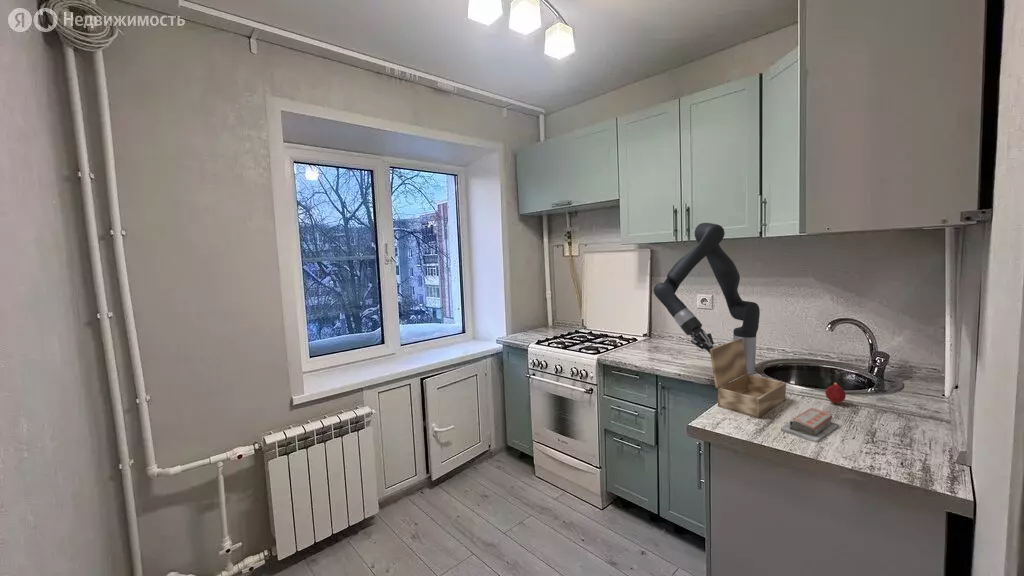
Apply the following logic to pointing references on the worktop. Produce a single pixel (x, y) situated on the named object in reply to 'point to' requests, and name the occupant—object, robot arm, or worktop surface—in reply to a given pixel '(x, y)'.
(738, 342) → the carton lid
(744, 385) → the carton
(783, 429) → the packaged product
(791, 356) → the worktop surface
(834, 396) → the onion
